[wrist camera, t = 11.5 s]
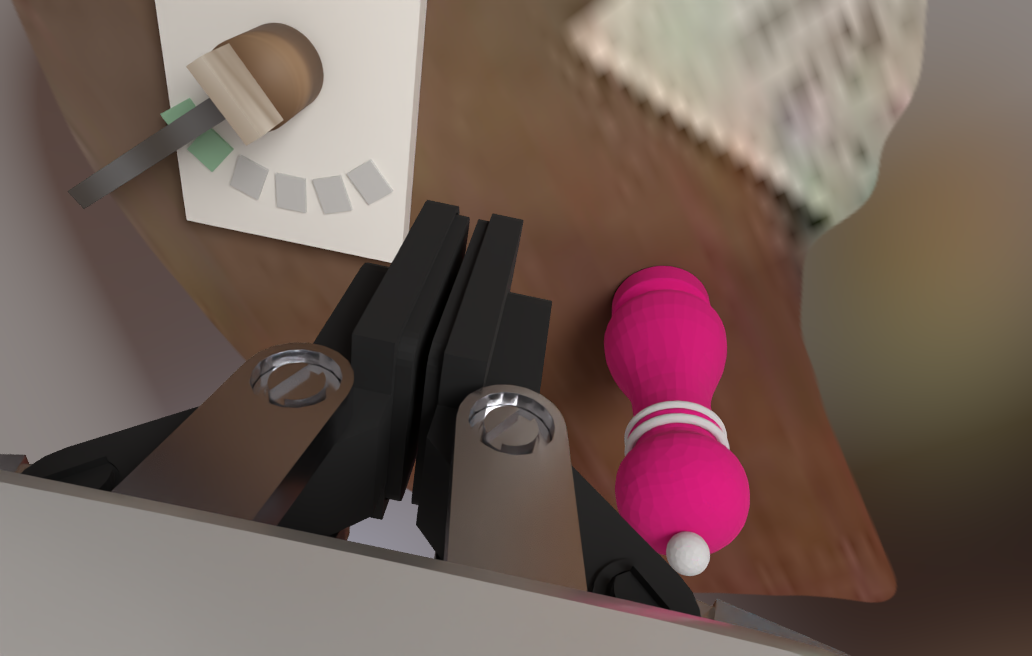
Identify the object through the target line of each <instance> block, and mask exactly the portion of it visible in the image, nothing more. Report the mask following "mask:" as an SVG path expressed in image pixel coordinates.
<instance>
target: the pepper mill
mask: <svg viewBox="0 0 1032 656" xmlns="http://www.w3.org/2000/svg"><path fill="white" fill-rule="evenodd" d="M604 350H605V357H606V362H607V366H608V368H609V370H610V373H611V375H612V377H613V379H614V381H615V382H616V384H617V385H618V387H619V388H620V389H621V390H622V392H623V393H624V394H625V395H626V396H627V397H628V398H629V400H630V401H631V403H632V408H633V415H634V417H633V418H632V419H631V421H630V422H629V424H628V426H627V428H626V431H625V439H624V440H625V458H624V459H623V461H622V462H621V464H620V467H619V469H618V472H617V476H616V484H615V494H616V501H617V507H618V510H619V513H620V515H621V516H622V517H623V518H624V519H625V520H626V521H627V522H628V524H629V525H630V526H631V527H632V528H633V529H634V530H635V531H636V532H637V533H638V534H639V535H640V536H641V537H642V538H643V539H644V540H645V541H646V542H647V543H648V544H649V545H650V546H651V547H652V548H653V549H654V550H655V551H656V552H657V553H659V554H663V555H667V560H668V562H669V564H670V565H671V567H672V568H673V569H674V570H675V571H676V572H678V573H680V574H682V575H686V576H694V575H697V574H699V573H701V572H702V571H704V570H705V568H706V567H707V565H708V563H709V560H710V554H711V553H714V552H716V551H718V550H720V549H722V548H723V547H725V546H726V545H728V544H729V543H731V542H732V540H733V539H734V538H735V537H736V536H737V535H738V534H739V532H740V531H741V529H742V528H743V526H744V524H745V521H746V518H747V514H748V510H749V506H750V491H749V484H748V479H747V476H746V474H745V471H744V469H743V467H742V465H741V464H740V462H739V460H738V458H737V457H736V456H735V455H734V454H733V453H732V452H731V451H730V450H729V444H728V440H727V433H726V430H725V427H724V424H723V422H722V421H721V420H720V418H719V417H718V416H717V415H716V414H715V413H714V412H712V411H711V398H712V396H713V393H714V391H715V389H716V386H717V384H718V382H719V380H720V378H721V376H722V373H723V370H724V366H725V361H726V356H727V342H726V333H725V328H724V326H723V323H722V321H721V319H720V317H719V316H718V314H717V312H716V311H715V310H714V309H713V308H712V307H711V306H710V302H709V297H708V294H707V291H706V289H705V287H704V286H703V284H702V283H701V282H700V281H699V280H698V279H697V278H696V277H695V276H694V275H692V274H691V273H689V272H687V271H685V270H683V269H680V268H676V267H672V266H655V267H650V268H646V269H643V270H641V271H638V272H636V273H634V274H632V275H631V276H630V277H628V278H627V279H626V280H625V281H624V282H623V283H622V284H621V285H620V286H619V288H618V289H617V291H616V293H615V295H614V299H613V302H612V318H611V320H610V321H609V323H608V326H607V329H606V332H605V337H604Z"/></svg>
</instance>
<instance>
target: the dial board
mask: <svg viewBox="0 0 1032 656" xmlns="http://www.w3.org/2000/svg"><path fill="white" fill-rule="evenodd" d="M155 4H156V11H157V18H158V25H159V32H160V39H161V46H162V53H163V60H164V67H165V73H166V80H167V87H168V94H169V101H170V109H169V110H167V111H165V112H163V113H161V114H160V115H161V116H162V117H163V119H164V120H165V121H166V123H167V124H168V125H169V124H170V123H172V122H173V121H175V120H176V119H178V118H179V117H181V116H182V115H184V114H185V113H187V112H188V111H190V110H191V109H193V108H194V107H196V106H197V105H199V104H201V103H202V102H204V101H205V100H207V99H208V98H209V96H208V95H207V94H206V92H205V91H204V90H203V88H202V87H201V86H200V84H199V83H198V82H197V80H196V79H195V78H194V77H193V75H192V74H191V73H190V71H189V70H188V69H187V67H186V66H187V65H189V64H190V63H192V62H193V61H194V60H196V59H197V58H199V57H200V56H202V55H204V54H206V53H208V52H211V51H212V50H213V49H214V48H215V47H216V46H217V45H218V44H220V43H222V42H224V41H226V40H228V39H231V38H233V37H235V36H237V35H240V34H242V33H244V32H247V31H249V30H251V29H253V28H256V27H258V26H260V25H263V24H266V23H282V24H286V25H288V26H291V27H293V28H295V29H297V30H298V31H299V32H301V33H302V34H303V35H304V36H306V37H307V38H308V39H309V41H310V42H311V43H312V44H313V46H314V47H315V49H316V50H317V52H318V54H319V56H320V59H321V62H322V66H323V73H324V79H323V86H322V89H321V91H320V93H319V95H318V97H317V98H316V99H315V100H314V101H313V102H312V103H311V104H310V105H308V106H307V107H306V108H304V109H303V110H302V111H300V112H299V113H298V114H297V115H295V116H294V117H293V118H291V119H290V120H289V121H288V122H286V123H285V124H284V125H282V126H281V127H280V128H278V129H276V130H273V131H270V132H267V133H266V134H264V135H263V136H262V137H260V138H259V139H257V140H255V141H254V142H252V143H250V144H249V145H247V146H246V145H245V144H244V142H243V141H242V140H241V138H240V137H239V136H238V134H237V133H236V132H235V130H234V129H233V128H232V127H231V125H230V124H229V123H228V121H227V120H226V119H225V120H224V121H222V122H220V123H219V124H217V125H216V126H214V127H213V128H211V129H209V130H208V131H206V132H205V133H203V134H202V135H200V136H198V137H197V138H195V139H194V140H192V141H190V142H189V143H187V144H186V145H184V146H183V147H181V148H179V149H178V150H177V156H178V163H179V170H180V177H181V184H182V191H183V198H184V205H185V212H186V219H187V220H188V221H193V222H198V223H203V224H208V225H212V226H217V227H222V228H227V229H232V230H236V231H241V232H246V233H251V234H256V235H260V236H265V237H270V238H275V239H280V240H285V241H289V242H294V243H299V244H304V245H309V246H313V247H318V248H323V249H328V250H333V251H337V252H342V253H347V254H352V255H357V256H361V257H366V258H371V259H376V260H381V261H385V262H390V263H392V261H393V260H394V258H395V256H396V254H397V252H398V251H399V249H400V247H401V245H402V243H403V242H404V240H405V238H406V236H407V235H408V233H409V223H410V210H411V197H412V185H413V172H414V159H415V147H416V134H417V121H418V109H419V96H420V84H421V71H422V58H423V46H424V33H425V20H426V8H427V0H155Z"/></svg>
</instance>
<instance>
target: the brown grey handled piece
mask: <svg viewBox="0 0 1032 656" xmlns="http://www.w3.org/2000/svg"><path fill="white" fill-rule="evenodd" d="M186 67H187V69H188V70H189V71H190V73H191V74H192V75H193V77H194V78H195V79H196V80H197V82H198V83H199V84H200V86H201V87H202V88H203V90H204V91H205V92H206V94H207V95H208V96H209V98H208V99H207V100H205V101H204V102H202V103H201V104H199V105H197V106H196V107H194V108H193V109H191V110H190V111H188V112H187V113H185V114H184V115H182V116H181V117H179V118H178V119H176V120H175V121H173V122H172V123H170V124H169V125H167V126H166V127H164V128H163V129H161V130H160V131H158V132H157V133H155V134H154V135H152V136H151V137H149V138H147V139H146V140H144V141H143V142H141V143H140V144H138V145H137V146H135V147H134V148H132V149H131V150H129V151H128V152H126V153H125V154H123V155H122V156H120V157H119V158H117V159H116V160H114V161H113V162H111V163H110V164H108V165H107V166H105V167H104V168H102V169H101V170H99V171H97V172H96V173H94V174H93V175H91V176H90V177H89V178H87V179H86V180H84V181H82V182H81V183H79V184H78V185H76V186H75V187H73V188H72V189H70V190H69V191H68V193H69V194H70V195H71V196H72V197H73V198H74V199H75V200H76V201H77V202H78V203H79V204H80V205H81V206H82V208H83V209H85V208H86V207H88V206H90V205H91V204H93V203H94V202H96V201H97V200H99V199H101V198H102V197H104V196H105V195H107V194H109V193H110V192H112V191H113V190H115V189H116V188H118V187H120V186H121V185H123V184H124V183H126V182H127V181H129V180H131V179H132V178H134V177H135V176H137V175H138V174H140V173H142V172H143V171H145V170H146V169H148V168H150V167H151V166H153V165H154V164H156V163H157V162H159V161H161V160H162V159H164V158H165V157H167V156H168V155H170V154H172V153H173V152H175V151H176V150H178V149H179V148H181V147H183V146H184V145H186V144H187V143H189V142H190V141H192V140H194V139H195V138H197V137H198V136H200V135H202V134H203V133H205V132H206V131H208V130H209V129H211V128H213V127H214V126H216V125H217V124H219V123H220V122H222V121H224V120H225V119H226V120H227V121H228V123H229V124H230V125H231V127H232V128H233V129H234V130H235V132H236V133H237V134H238V136H239V137H240V138H241V140H242V141H243V142H244V144H245V145H246V146H247V145H249V144H250V143H252V142H254V141H255V140H257V139H259V138H260V137H262V136H263V135H264V134H266V133H267V132H270V131H273V130H276V129H278V128H280V127H281V126H282V125H284V124H285V123H286V122H288V121H289V120H290V119H291V118H293V117H294V116H295V115H297V114H298V113H299V112H300V111H302V110H303V109H304V108H306V107H307V106H308V105H310V104H311V103H312V102H313V101H314V100H315V99H316V98H317V97H318V95H319V93H320V91H321V89H322V86H323V79H324V73H323V66H322V62H321V59H320V56H319V54H318V52H317V50H316V49H315V47H314V46H313V44H312V43H311V42H310V41H309V39H308V38H307V37H306V36H304V35H303V34H302V33H301V32H299V31H298V30H297V29H295V28H293V27H291V26H288V25H286V24H282V23H266V24H263V25H260V26H258V27H256V28H253V29H251V30H249V31H247V32H244V33H242V34H240V35H237V36H235V37H233V38H231V39H228V40H226V41H224V42H222V43H220V44H218V45H217V46H216V47H215V48H214V49H213V50H212V51H211V52H208V53H206V54H204V55H202V56H200V57H199V58H197V59H196V60H194V61H193V62H192V63H190V64H189V65H187V66H186Z"/></svg>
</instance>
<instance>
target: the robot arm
mask: <svg viewBox="0 0 1032 656" xmlns="http://www.w3.org/2000/svg"><path fill="white" fill-rule="evenodd" d="M469 220H470V219H469V217H466V216H461V215H459V207H458V206H454V205H449V204H444V203H440V202H435V201H430V200H427V201H426V202H425V204H424V206H423V208H422V209H421V211H420V213H419V215H418V217H417V218H416V220H415V222H414V224H413V226H412V227H411V229H410V231H409V233H408V235H407V236H406V238H405V240H404V242H403V243H402V245H401V247H400V249H399V251H398V252H397V254H396V256H395V258H394V260H393V261H392V263H391V265H390V267H387V266H382V265H377V264H372V263H364V265H363V266H362V267H361V268H360V270H359V272H358V273H357V275H356V276H355V278H354V279H353V281H352V283H351V284H350V286H349V287H348V289H347V291H346V292H345V294H344V295H343V297H342V299H341V300H340V302H339V303H338V305H337V306H336V308H335V310H334V311H333V313H332V314H331V316H330V318H329V319H328V321H327V322H326V324H325V326H324V327H323V329H322V330H321V332H320V333H319V335H318V337H317V338H316V340H315V341H314V343H313V344H312V343H287V344H281V345H276V346H273V347H270V348H268V349H265V350H263V351H260V352H258V353H257V354H255V355H254V356H253V357H251V358H250V359H248V360H247V361H246V362H245V363H244V364H243V365H242V366H241V367H240V368H239V369H238V370H237V371H236V372H235V373H234V374H232V375H231V376H230V378H228V379H227V380H226V381H225V382H224V383H223V384H222V385H221V386H220V387H219V388H218V389H217V390H216V391H215V392H214V393H213V394H212V395H211V396H210V397H209V398H208V399H207V400H206V401H205V402H203V404H201V405H200V406H199V407H196V408H192V409H189V410H186V411H183V412H179V413H176V414H173V415H170V416H166V417H163V418H160V419H157V420H154V421H150V422H148V423H144V424H141V425H138V426H134V427H132V428H128V429H125V430H122V431H119V432H115V433H112V434H109V435H105V436H102V437H99V438H96V439H93V440H90V441H86V442H83V443H80V444H77V445H74V446H70V447H67V448H64V449H62V450H59V451H57V452H54V453H52V454H50V455H47V456H45V457H43V458H41V459H40V460H38V461H37V462H35V463H34V464H29V462H28V460H27V457H26V455H12V454H0V656H851V655H848V654H846V653H844V652H841V651H839V650H836V649H834V648H832V647H829V646H827V645H824V644H822V643H820V642H817V641H815V640H813V639H811V638H808V637H806V636H804V635H801V634H799V633H796V632H794V631H792V630H789V629H787V628H784V627H782V626H780V625H778V624H775V623H773V622H771V621H768V620H766V619H764V618H761V617H759V616H756V615H754V614H751V613H749V612H747V611H744V610H742V609H740V608H738V607H735V606H733V605H731V604H728V603H726V602H724V601H721V600H719V599H717V600H716V601H715V603H714V604H713V606H710V605H708V604H705V603H703V602H701V601H698V600H696V599H695V597H694V595H693V592H692V591H691V590H690V588H689V587H688V586H687V584H686V583H685V582H684V581H683V579H682V578H681V577H680V575H679V574H678V573H677V572H676V571H675V570H674V569H673V568H672V567H671V566H670V565H669V564H668V563H667V562H666V561H665V560H664V559H663V558H662V557H661V556H660V555H659V554H658V553H657V552H656V551H655V550H654V549H653V548H652V547H651V546H650V545H649V544H648V543H647V542H646V541H645V540H644V539H643V538H642V537H641V536H640V535H639V534H638V533H637V532H636V531H635V530H634V529H633V528H632V527H631V526H630V525H629V524H628V522H627V521H626V520H625V519H624V518H623V517H622V516H621V515H620V514H619V513H618V512H617V511H616V510H615V509H614V508H613V507H612V506H611V505H610V504H609V503H608V502H607V501H606V500H605V499H604V498H603V497H602V496H601V495H600V494H599V493H598V492H597V491H596V490H595V489H594V488H593V487H592V486H591V485H590V484H589V483H588V482H587V481H586V480H585V479H584V478H583V477H582V476H581V475H580V474H579V473H578V472H577V471H576V470H575V469H574V468H573V466H572V465H571V458H570V451H569V443H568V435H567V427H566V424H565V421H564V418H563V415H562V414H561V413H560V411H559V410H558V409H557V407H556V406H555V405H554V404H553V403H552V402H550V401H549V400H548V399H546V398H545V397H544V396H543V395H541V394H540V387H541V379H542V372H543V365H544V357H545V350H546V343H547V335H548V328H549V321H550V313H551V306H552V301H550V300H545V299H540V298H535V297H531V296H526V295H521V294H516V293H511V292H510V288H511V283H512V278H513V273H514V267H515V262H516V257H517V252H518V247H519V242H520V237H521V231H522V226H523V220H521V219H516V218H511V217H507V216H502V215H497V214H492V216H491V219H490V221H485V220H480V219H479V220H478V222H477V225H476V227H475V230H474V233H473V235H472V238H471V241H470V243H469V246H468V249H467V251H466V244H467V237H468V230H469ZM465 251H466V254H465ZM415 460H416V465H415V474H414V483H413V492H412V504H416V505H418V513H417V521H416V525H417V527H418V528H419V529H420V531H421V532H422V533H423V535H424V536H425V538H426V539H427V540H428V542H429V543H430V545H431V546H432V547H433V549H434V550H435V556H434V559H432V558H428V557H422V556H418V555H413V554H408V553H403V552H399V551H394V550H389V549H384V548H380V547H375V546H370V545H365V544H360V543H356V542H351V541H347V539H348V537H349V533H350V526H352V525H354V524H356V523H358V522H360V521H362V520H364V519H367V518H369V517H371V518H376V519H381V520H382V519H383V516H384V513H385V510H386V507H387V504H388V502H389V499H392V500H397V501H401V500H402V498H403V496H404V493H405V490H406V487H407V484H408V481H409V478H410V475H411V472H412V469H413V466H414V463H415Z"/></svg>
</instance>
